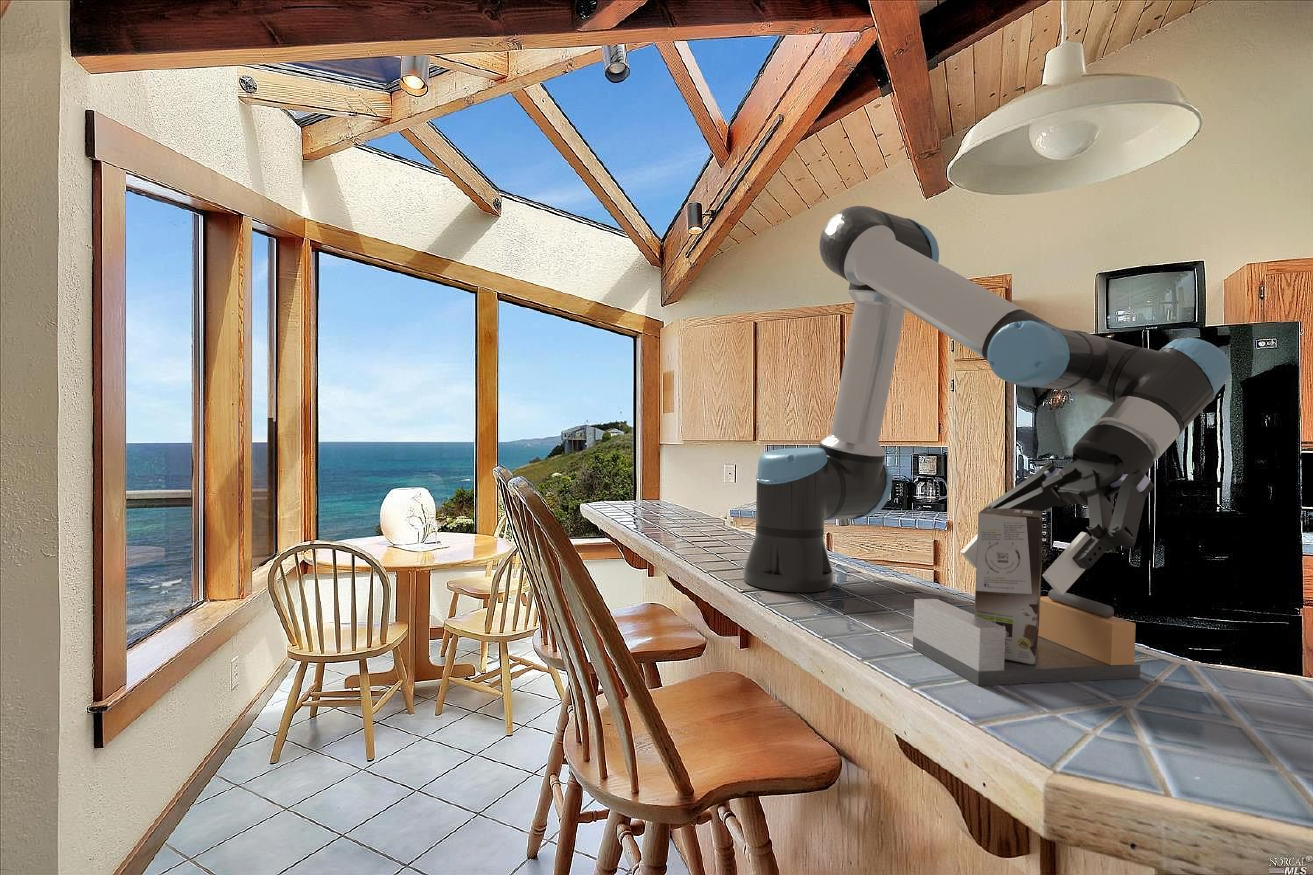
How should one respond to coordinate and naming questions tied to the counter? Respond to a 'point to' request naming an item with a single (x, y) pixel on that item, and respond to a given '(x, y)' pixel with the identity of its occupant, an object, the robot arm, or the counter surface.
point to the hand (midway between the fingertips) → (1006, 571)
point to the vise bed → (1041, 670)
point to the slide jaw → (1087, 628)
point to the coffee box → (1010, 577)
